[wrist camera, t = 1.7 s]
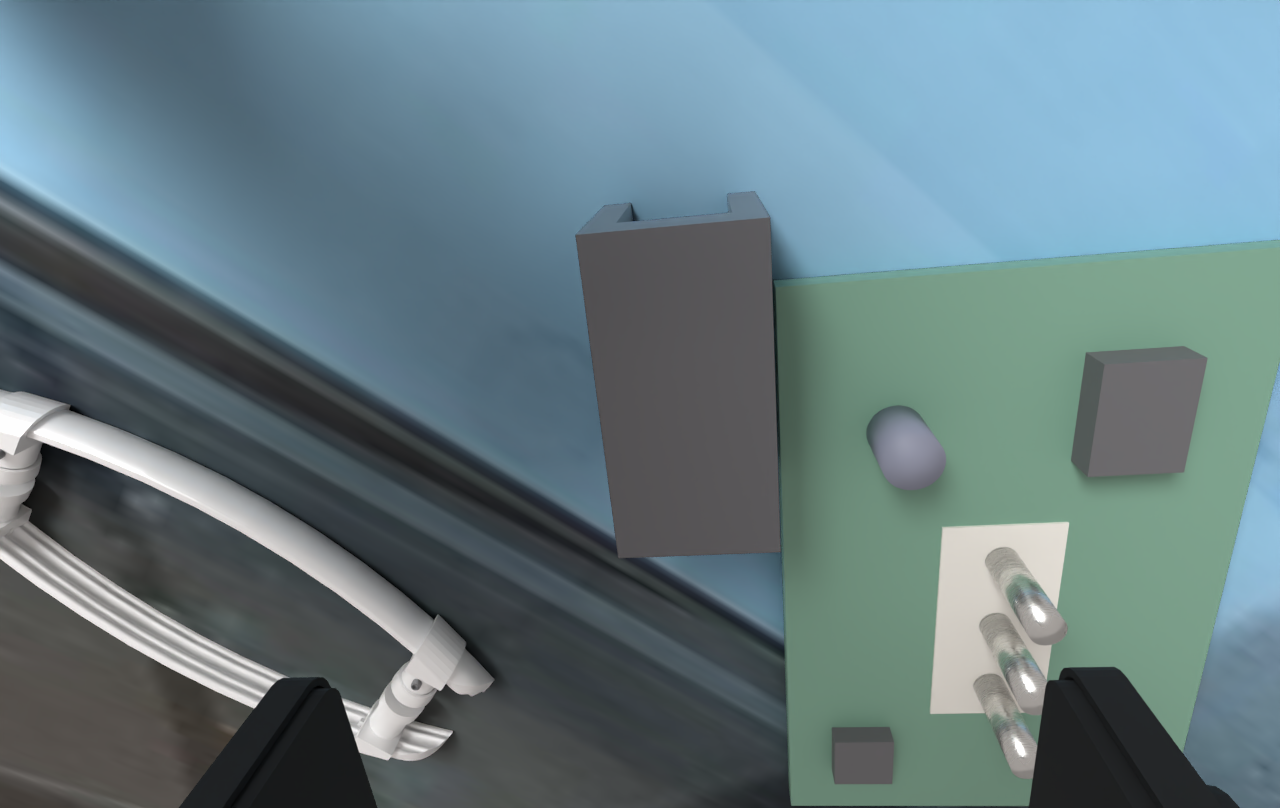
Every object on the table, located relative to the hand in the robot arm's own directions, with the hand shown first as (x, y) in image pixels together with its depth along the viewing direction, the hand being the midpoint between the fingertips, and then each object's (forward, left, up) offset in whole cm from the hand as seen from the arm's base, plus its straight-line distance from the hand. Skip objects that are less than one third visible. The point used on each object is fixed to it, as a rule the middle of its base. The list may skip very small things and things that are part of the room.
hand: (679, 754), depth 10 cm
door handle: (+9, -21, -18) cm, 29 cm away
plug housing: (0, 0, -18) cm, 18 cm away
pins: (+12, +11, -18) cm, 24 cm away
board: (+10, +11, -18) cm, 23 cm away
